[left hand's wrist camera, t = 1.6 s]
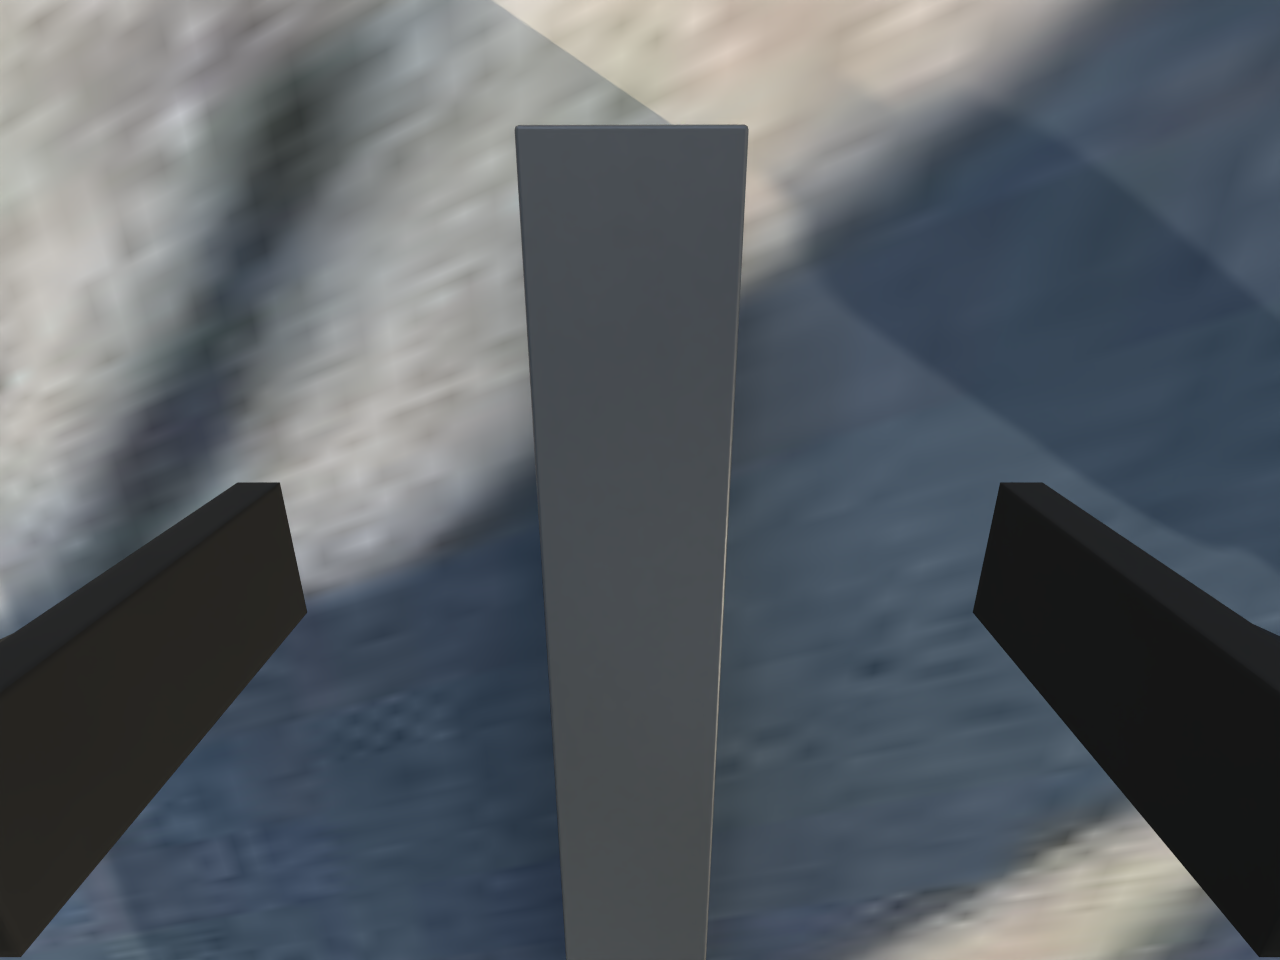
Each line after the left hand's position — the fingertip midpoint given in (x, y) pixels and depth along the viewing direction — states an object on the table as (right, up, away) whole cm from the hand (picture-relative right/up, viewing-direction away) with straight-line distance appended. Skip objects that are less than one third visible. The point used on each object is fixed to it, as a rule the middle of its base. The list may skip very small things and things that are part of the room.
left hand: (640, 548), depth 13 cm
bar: (0, -18, +21) cm, 28 cm away
